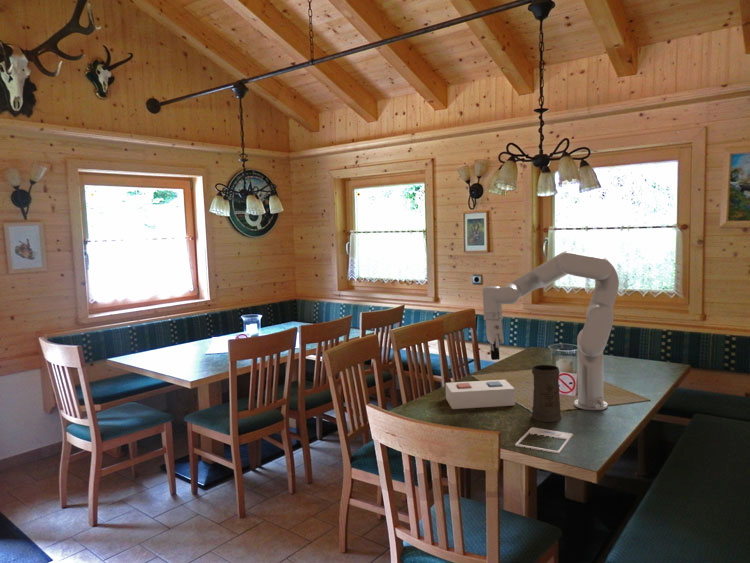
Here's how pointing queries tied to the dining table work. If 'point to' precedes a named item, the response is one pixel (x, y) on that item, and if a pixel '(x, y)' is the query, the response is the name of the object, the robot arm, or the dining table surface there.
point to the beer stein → (546, 393)
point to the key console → (480, 395)
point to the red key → (463, 385)
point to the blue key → (494, 384)
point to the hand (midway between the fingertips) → (495, 359)
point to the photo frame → (546, 433)
